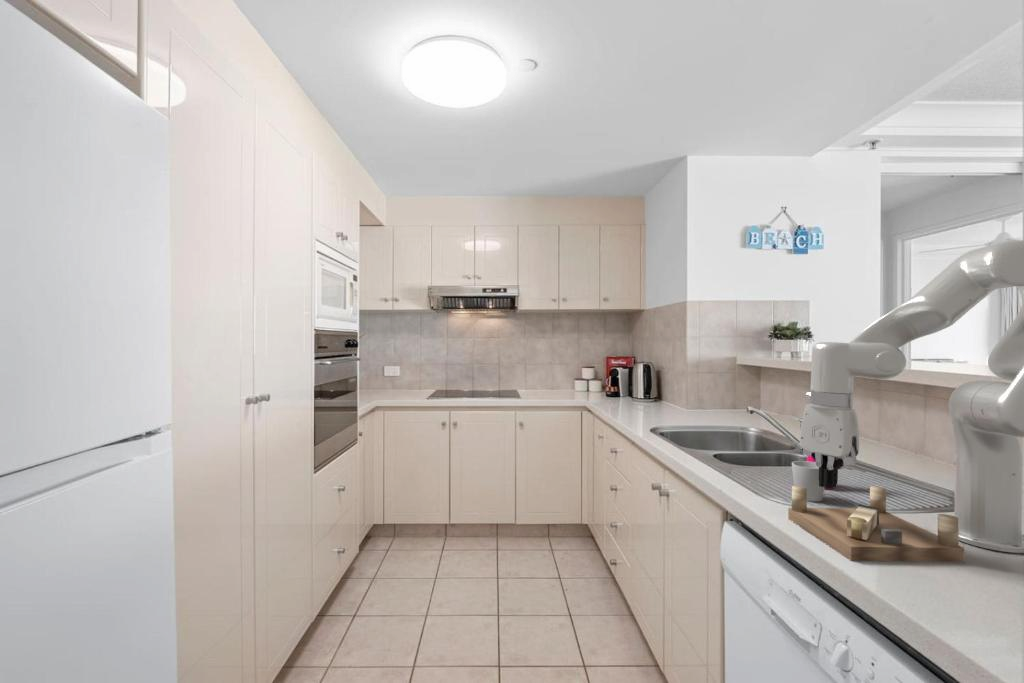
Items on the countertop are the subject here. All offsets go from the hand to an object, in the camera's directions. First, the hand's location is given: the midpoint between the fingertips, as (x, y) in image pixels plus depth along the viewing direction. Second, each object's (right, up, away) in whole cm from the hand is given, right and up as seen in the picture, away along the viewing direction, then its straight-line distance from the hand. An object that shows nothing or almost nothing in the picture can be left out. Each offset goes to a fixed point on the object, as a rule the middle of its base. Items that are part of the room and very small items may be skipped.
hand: (827, 486), depth 101 cm
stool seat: (+4, -9, -5) cm, 11 cm away
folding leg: (+2, -6, -8) cm, 10 cm away
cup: (+9, -9, +20) cm, 23 cm away
